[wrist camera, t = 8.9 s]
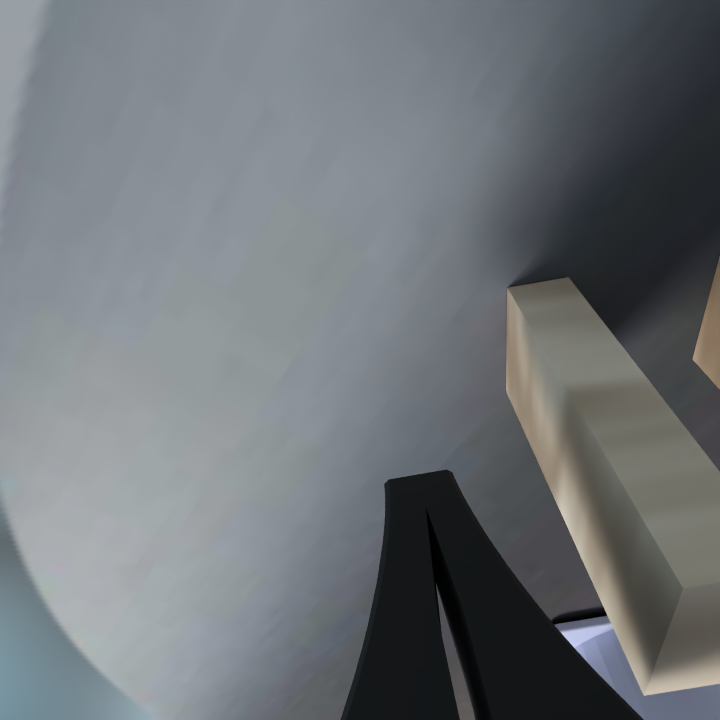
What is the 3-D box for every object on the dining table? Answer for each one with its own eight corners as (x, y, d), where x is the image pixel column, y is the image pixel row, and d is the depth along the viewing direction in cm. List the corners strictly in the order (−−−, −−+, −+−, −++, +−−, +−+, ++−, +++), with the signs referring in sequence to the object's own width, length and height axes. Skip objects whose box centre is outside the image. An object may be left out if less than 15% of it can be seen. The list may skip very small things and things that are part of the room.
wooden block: (559, 382, 17) (732, 681, 10) (506, 391, 17) (643, 695, 10) (568, 277, 15) (795, 570, 8) (507, 287, 15) (683, 589, 8)
